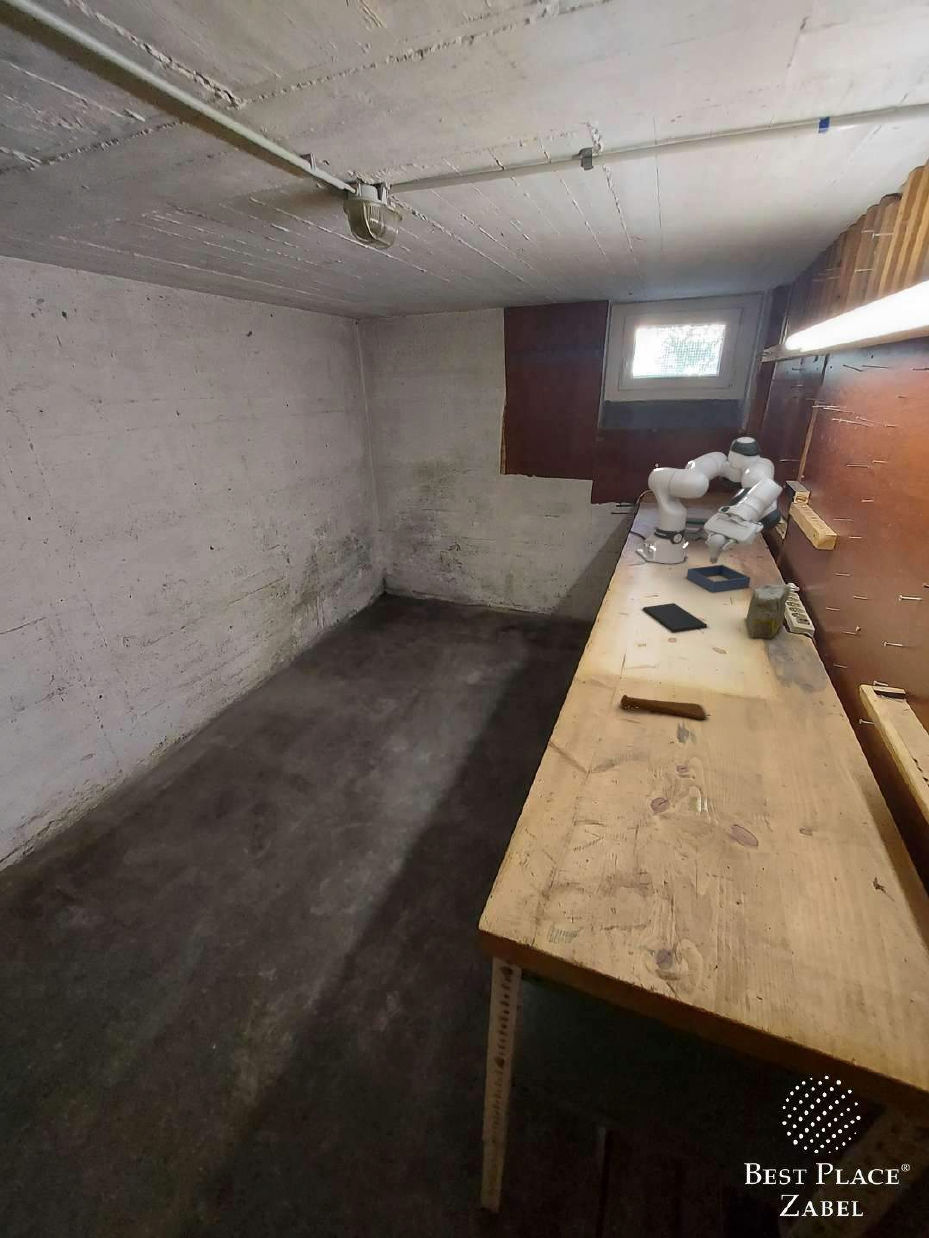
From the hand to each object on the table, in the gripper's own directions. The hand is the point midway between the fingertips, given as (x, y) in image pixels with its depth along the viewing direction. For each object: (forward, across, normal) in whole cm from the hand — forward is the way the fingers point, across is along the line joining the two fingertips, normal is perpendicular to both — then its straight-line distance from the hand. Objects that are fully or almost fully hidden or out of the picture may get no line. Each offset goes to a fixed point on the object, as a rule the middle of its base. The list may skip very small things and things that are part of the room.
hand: (714, 547), depth 175 cm
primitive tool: (+56, -56, +31) cm, 85 cm away
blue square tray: (+6, +5, -19) cm, 21 cm away
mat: (+31, -15, +6) cm, 35 cm away
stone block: (+16, -33, -8) cm, 37 cm away
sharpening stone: (-15, +61, -40) cm, 75 cm away
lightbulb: (+4, 0, -5) cm, 7 cm away
